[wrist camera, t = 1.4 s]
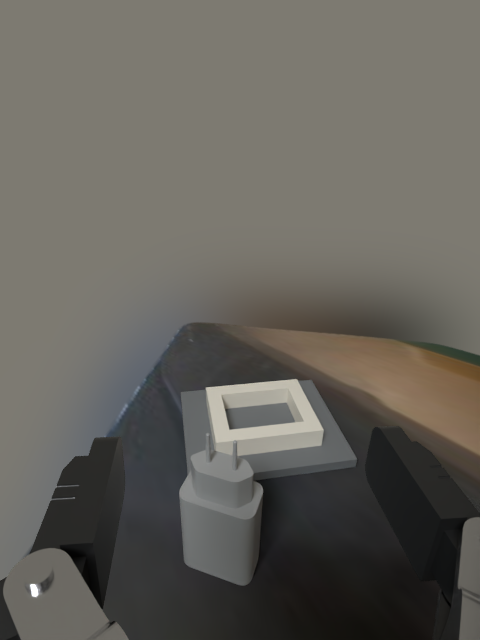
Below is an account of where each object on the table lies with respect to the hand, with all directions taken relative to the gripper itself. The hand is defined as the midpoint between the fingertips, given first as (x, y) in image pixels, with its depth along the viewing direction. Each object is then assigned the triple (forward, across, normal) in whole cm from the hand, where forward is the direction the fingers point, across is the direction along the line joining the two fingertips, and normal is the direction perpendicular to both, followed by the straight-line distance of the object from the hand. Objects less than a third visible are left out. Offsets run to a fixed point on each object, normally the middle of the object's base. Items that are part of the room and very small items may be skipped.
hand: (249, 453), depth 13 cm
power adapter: (+11, 0, +20) cm, 23 cm away
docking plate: (+24, -5, +19) cm, 31 cm away
